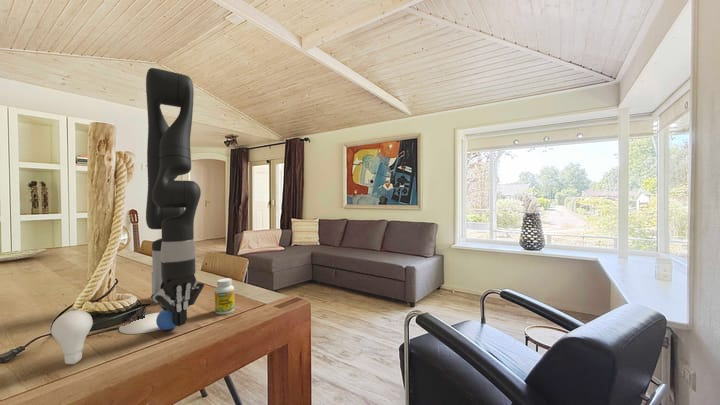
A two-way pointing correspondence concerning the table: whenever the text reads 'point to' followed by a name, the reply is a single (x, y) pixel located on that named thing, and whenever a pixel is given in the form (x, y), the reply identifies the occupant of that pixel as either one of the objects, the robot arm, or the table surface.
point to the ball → (165, 320)
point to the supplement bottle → (224, 296)
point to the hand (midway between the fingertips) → (179, 324)
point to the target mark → (141, 325)
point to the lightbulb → (72, 333)
